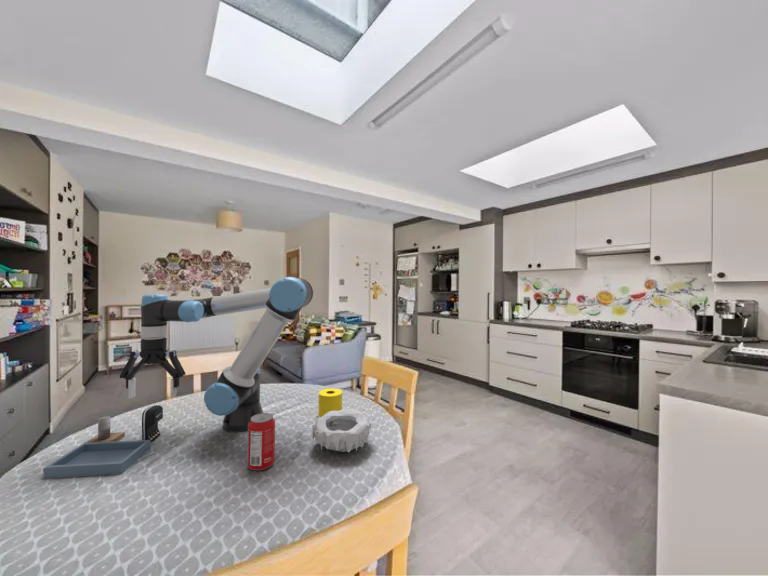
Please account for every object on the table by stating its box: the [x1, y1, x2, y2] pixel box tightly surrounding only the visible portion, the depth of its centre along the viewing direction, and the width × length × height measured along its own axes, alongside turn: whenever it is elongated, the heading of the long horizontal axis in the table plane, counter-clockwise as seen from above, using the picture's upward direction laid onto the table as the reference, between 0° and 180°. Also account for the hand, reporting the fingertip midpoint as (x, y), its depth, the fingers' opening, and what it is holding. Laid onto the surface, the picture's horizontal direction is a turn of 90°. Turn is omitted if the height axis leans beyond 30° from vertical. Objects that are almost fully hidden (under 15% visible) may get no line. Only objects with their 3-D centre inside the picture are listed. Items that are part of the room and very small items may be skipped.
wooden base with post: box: [84, 415, 126, 443], centre depth 109 cm, size 8×8×9 cm
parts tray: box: [43, 439, 152, 479], centre depth 97 cm, size 20×14×3 cm
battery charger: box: [141, 404, 164, 443], centre depth 112 cm, size 7×4×11 cm, turn 8°
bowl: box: [311, 408, 372, 454], centre depth 109 cm, size 21×20×10 cm
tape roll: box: [318, 388, 343, 417], centre depth 136 cm, size 10×10×9 cm
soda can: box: [247, 412, 276, 471], centre depth 97 cm, size 8×8×15 cm
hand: (152, 397), depth 112 cm, fingers open, 13 cm apart
